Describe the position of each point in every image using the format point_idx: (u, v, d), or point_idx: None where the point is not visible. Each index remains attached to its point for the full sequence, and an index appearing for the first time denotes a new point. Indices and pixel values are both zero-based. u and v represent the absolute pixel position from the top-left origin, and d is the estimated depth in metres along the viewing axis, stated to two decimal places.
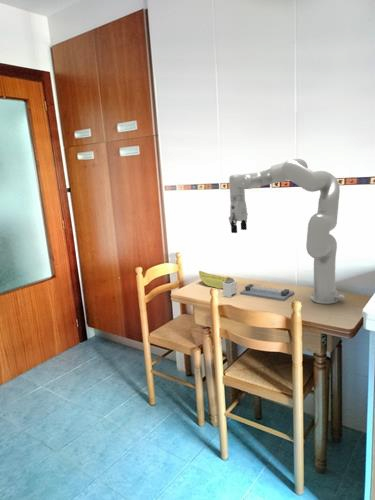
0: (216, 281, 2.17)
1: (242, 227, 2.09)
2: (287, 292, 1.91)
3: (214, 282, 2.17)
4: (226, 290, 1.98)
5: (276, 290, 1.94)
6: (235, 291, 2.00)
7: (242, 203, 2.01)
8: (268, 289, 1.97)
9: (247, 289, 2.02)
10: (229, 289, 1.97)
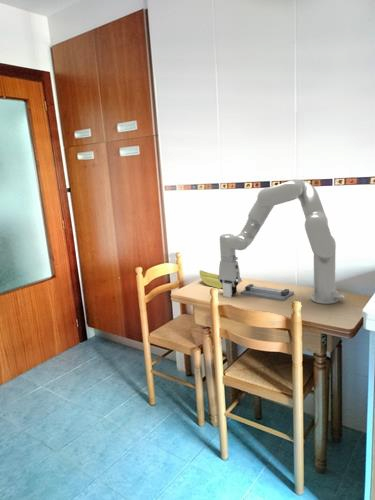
0: (216, 281, 2.17)
1: None
2: (287, 292, 1.91)
3: (214, 282, 2.18)
4: (226, 290, 1.98)
5: (276, 290, 1.94)
6: None
7: None
8: (268, 289, 1.97)
9: (247, 289, 2.02)
10: (229, 289, 1.97)
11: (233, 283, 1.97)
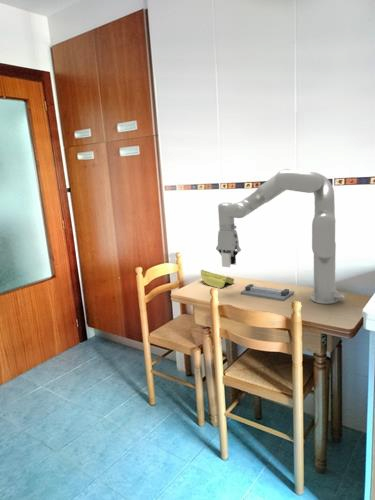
0: (216, 280, 2.18)
1: None
2: (287, 292, 1.91)
3: (214, 281, 2.18)
4: (225, 260, 1.95)
5: (276, 290, 1.94)
6: None
7: None
8: (268, 289, 1.97)
9: (247, 289, 2.02)
10: (228, 259, 1.94)
11: (232, 253, 1.93)
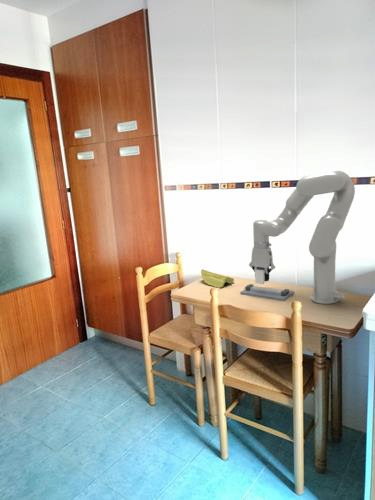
0: (216, 280, 2.18)
1: None
2: (287, 292, 1.91)
3: (214, 281, 2.19)
4: (259, 277, 1.96)
5: (276, 290, 1.94)
6: None
7: None
8: (268, 289, 1.97)
9: (247, 289, 2.02)
10: (261, 276, 1.94)
11: (266, 270, 1.94)
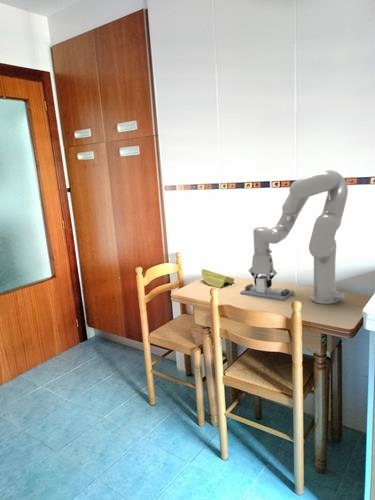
0: (216, 280, 2.19)
1: None
2: (287, 292, 1.91)
3: (214, 281, 2.19)
4: (260, 285, 1.96)
5: (276, 290, 1.94)
6: None
7: None
8: (268, 289, 1.97)
9: (247, 289, 2.02)
10: (262, 284, 1.95)
11: (268, 276, 1.94)
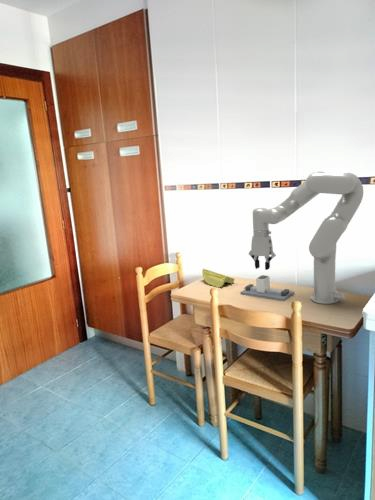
0: (216, 280, 2.19)
1: (257, 266, 1.98)
2: (287, 292, 1.91)
3: (214, 281, 2.20)
4: (260, 285, 1.96)
5: (276, 290, 1.94)
6: (268, 287, 1.99)
7: None
8: (268, 289, 1.97)
9: (247, 289, 2.02)
10: (262, 284, 1.95)
11: (266, 258, 1.93)
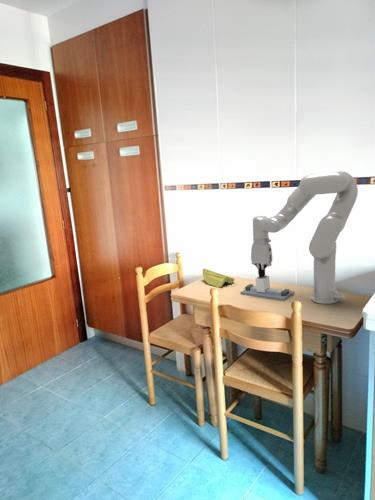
0: (216, 280, 2.19)
1: None
2: (287, 292, 1.91)
3: (214, 281, 2.20)
4: (260, 285, 1.96)
5: (276, 290, 1.94)
6: (268, 286, 1.99)
7: None
8: (268, 289, 1.97)
9: (247, 289, 2.02)
10: (262, 284, 1.95)
11: (263, 266, 1.95)
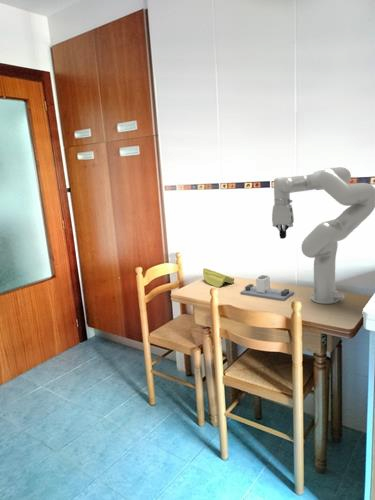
0: (216, 279, 2.20)
1: None
2: (287, 292, 1.91)
3: (214, 280, 2.20)
4: (260, 285, 1.96)
5: (276, 290, 1.94)
6: (268, 287, 1.99)
7: None
8: (268, 289, 1.97)
9: (247, 289, 2.02)
10: (262, 284, 1.95)
11: (284, 227, 1.96)
